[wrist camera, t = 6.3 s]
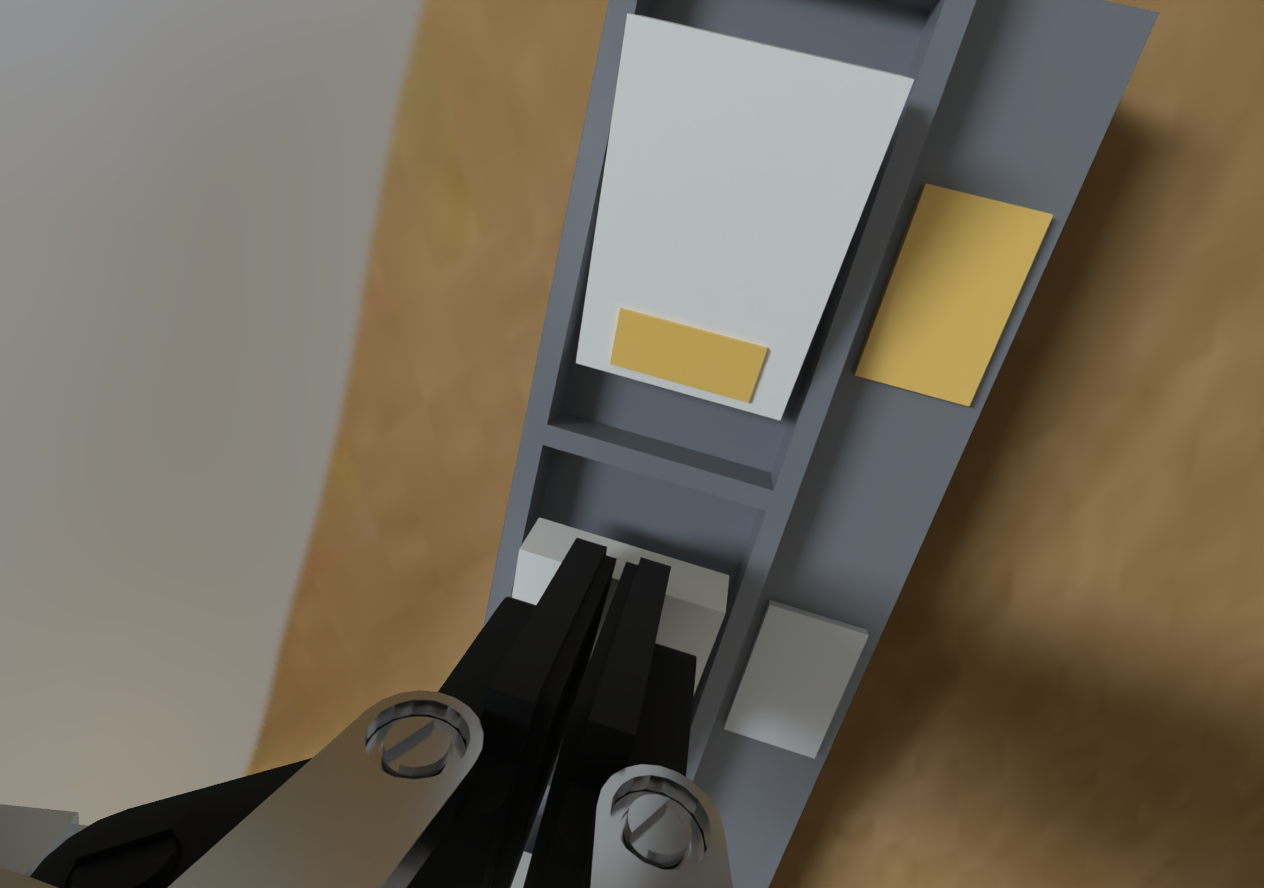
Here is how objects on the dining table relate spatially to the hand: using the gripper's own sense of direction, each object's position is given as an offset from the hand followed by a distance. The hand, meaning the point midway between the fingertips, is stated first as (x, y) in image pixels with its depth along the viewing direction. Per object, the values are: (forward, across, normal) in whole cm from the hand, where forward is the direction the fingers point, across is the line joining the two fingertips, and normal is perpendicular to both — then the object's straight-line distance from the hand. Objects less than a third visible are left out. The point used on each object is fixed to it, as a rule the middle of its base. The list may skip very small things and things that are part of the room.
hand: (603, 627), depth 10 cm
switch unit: (+5, -1, +1) cm, 6 cm away
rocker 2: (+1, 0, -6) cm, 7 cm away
